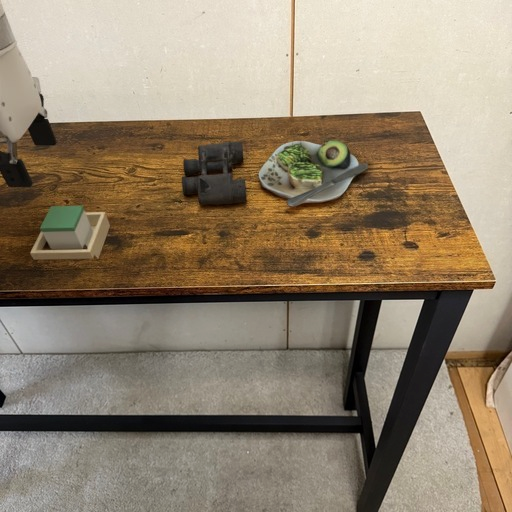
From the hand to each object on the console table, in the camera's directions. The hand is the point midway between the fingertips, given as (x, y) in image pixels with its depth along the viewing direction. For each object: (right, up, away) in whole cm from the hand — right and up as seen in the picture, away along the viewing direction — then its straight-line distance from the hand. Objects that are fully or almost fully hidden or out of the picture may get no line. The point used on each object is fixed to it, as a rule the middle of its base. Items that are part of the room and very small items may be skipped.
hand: (34, 164), depth 63 cm
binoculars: (+23, +1, +21) cm, 31 cm away
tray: (+2, -11, +11) cm, 15 cm away
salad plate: (+41, +2, +21) cm, 46 cm away
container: (+1, -11, +10) cm, 15 cm away
